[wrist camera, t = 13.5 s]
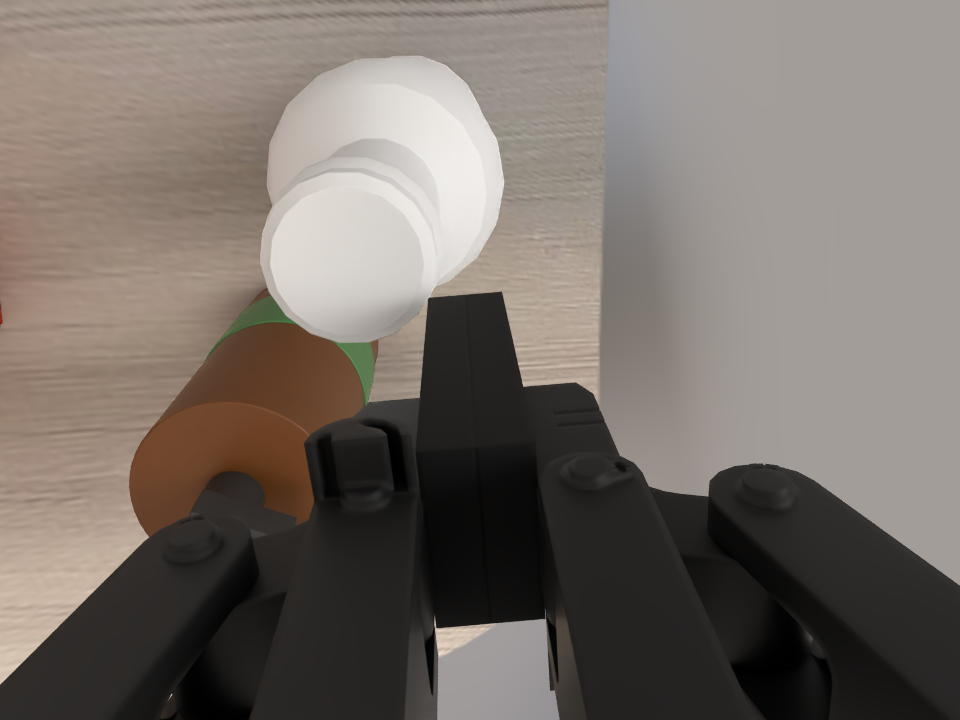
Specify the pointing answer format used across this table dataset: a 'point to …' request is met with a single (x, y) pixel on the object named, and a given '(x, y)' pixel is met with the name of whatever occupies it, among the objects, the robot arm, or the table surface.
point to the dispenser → (249, 424)
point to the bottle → (376, 195)
